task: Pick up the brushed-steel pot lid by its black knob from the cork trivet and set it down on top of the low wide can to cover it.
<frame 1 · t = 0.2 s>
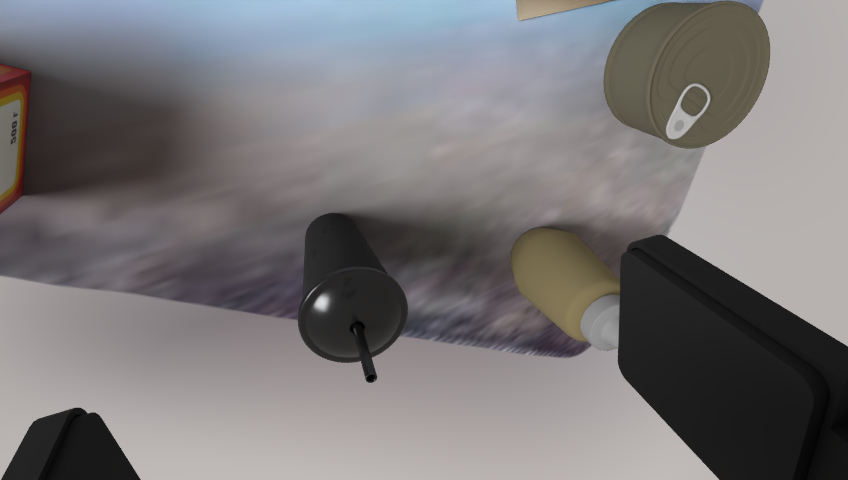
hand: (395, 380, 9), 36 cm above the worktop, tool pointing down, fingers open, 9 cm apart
drinking cup: (331, 236, 47), on the worktop
can: (655, 68, 49), on the worktop
squeeze bottle: (534, 250, 55), on the worktop
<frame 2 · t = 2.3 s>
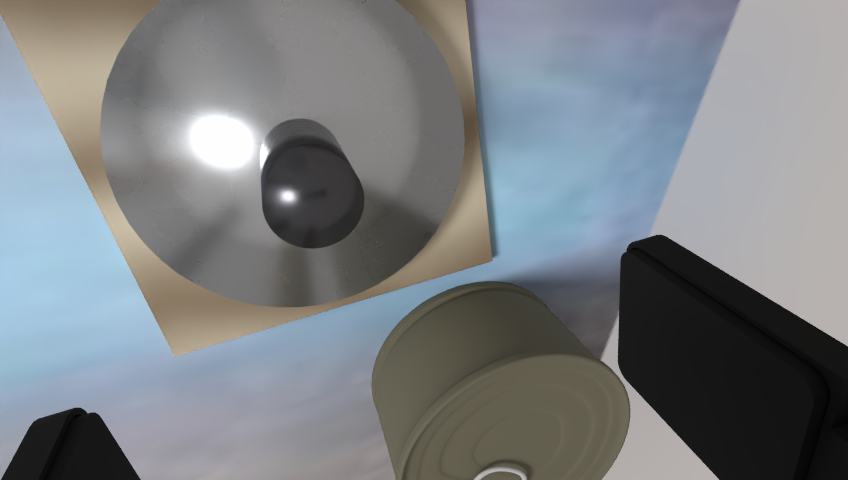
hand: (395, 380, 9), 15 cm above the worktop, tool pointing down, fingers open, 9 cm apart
can: (466, 364, 30), on the worktop
lid: (299, 151, 21), resting on trivet
trivet: (298, 149, 22), on the worktop
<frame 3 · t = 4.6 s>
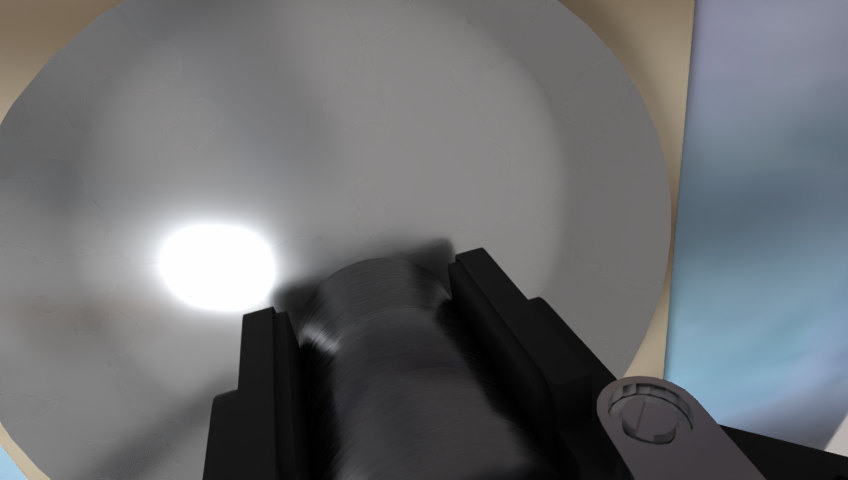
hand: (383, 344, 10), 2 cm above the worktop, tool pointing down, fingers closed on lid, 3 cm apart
lid: (369, 301, 11), resting on trivet, touching gripper
trivet: (365, 292, 12), on the worktop
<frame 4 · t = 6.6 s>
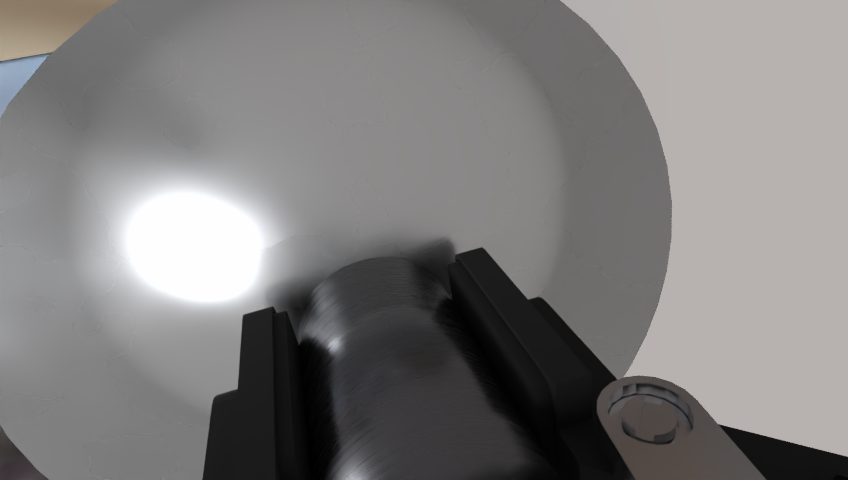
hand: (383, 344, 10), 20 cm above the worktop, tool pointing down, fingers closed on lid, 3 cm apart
lid: (368, 301, 11), point 18 cm above the worktop, touching gripper
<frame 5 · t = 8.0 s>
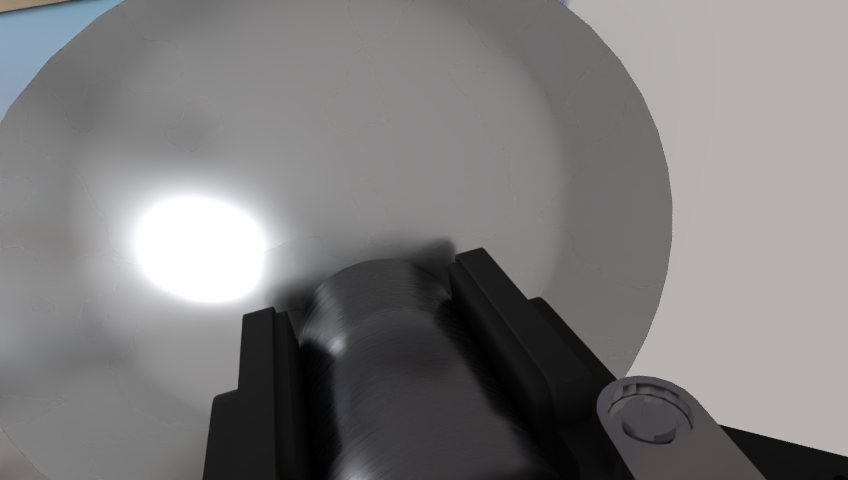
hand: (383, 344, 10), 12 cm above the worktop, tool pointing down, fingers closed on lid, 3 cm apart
lid: (369, 302, 11), point 11 cm above the worktop, touching gripper
when the fingers open (10 cm above the worktop, at t = 9.1 s): lid drops 2 cm, resting on can.
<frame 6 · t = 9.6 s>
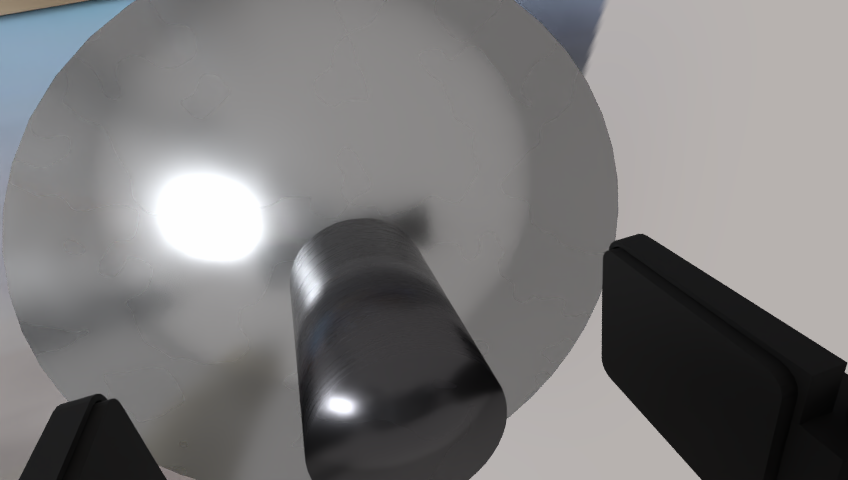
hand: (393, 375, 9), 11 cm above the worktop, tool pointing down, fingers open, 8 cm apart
lid: (352, 261, 13), point 7 cm above the worktop, touching can
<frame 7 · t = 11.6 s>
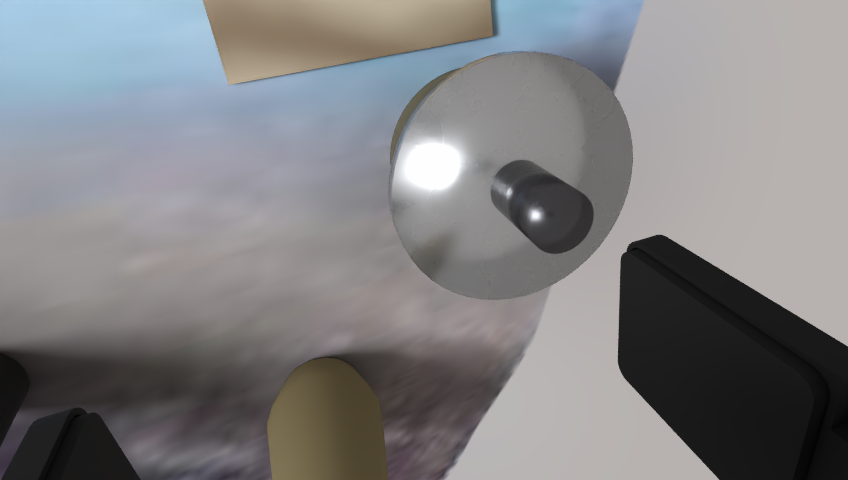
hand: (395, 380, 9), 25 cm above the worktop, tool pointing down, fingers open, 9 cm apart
can: (472, 153, 35), on the worktop, touching lid
lid: (510, 182, 29), point 7 cm above the worktop, touching can
squeeze bottle: (322, 385, 40), on the worktop
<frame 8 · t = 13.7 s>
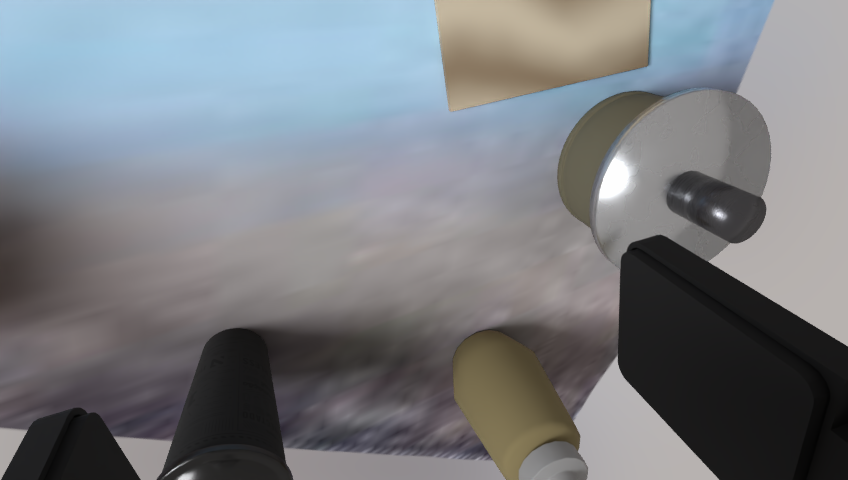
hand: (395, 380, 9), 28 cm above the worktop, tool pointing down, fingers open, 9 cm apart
drinking cup: (235, 352, 41), on the worktop
can: (618, 161, 43), on the worktop, touching lid
lid: (676, 187, 37), point 7 cm above the worktop, touching can
squeeze bottle: (481, 353, 48), on the worktop
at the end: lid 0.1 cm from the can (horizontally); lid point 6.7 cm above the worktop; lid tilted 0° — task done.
